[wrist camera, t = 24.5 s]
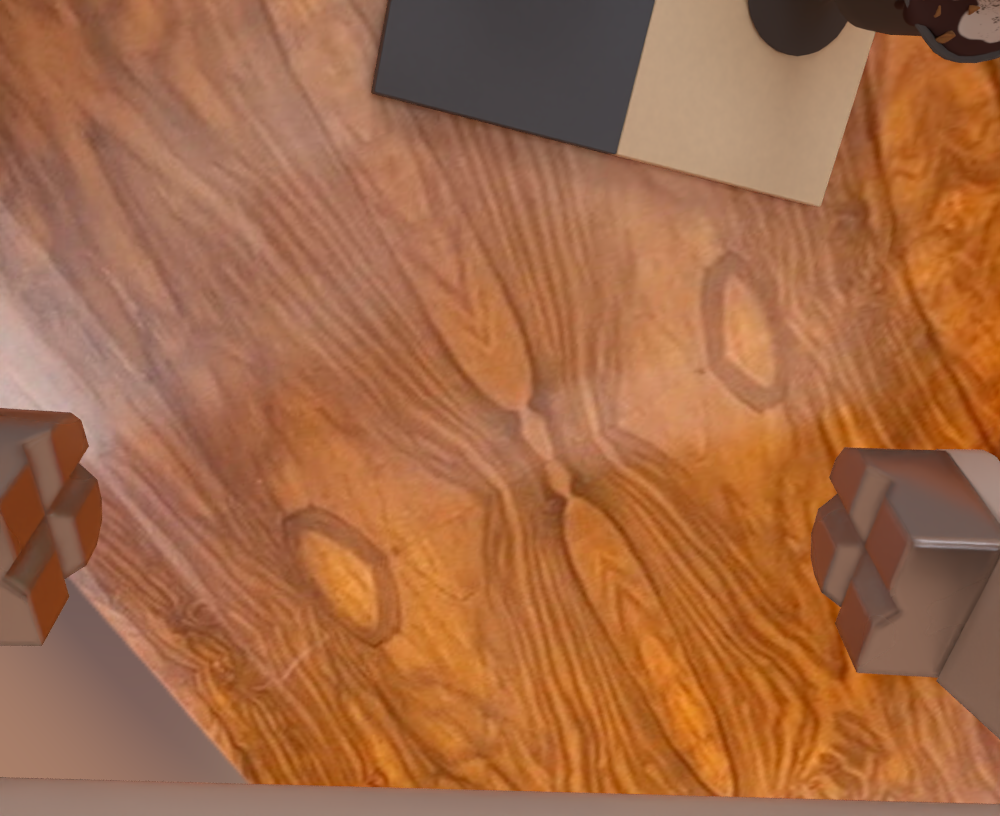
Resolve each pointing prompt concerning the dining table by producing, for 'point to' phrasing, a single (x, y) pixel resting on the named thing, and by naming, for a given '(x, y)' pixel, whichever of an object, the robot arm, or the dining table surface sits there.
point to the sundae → (882, 24)
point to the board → (634, 83)
